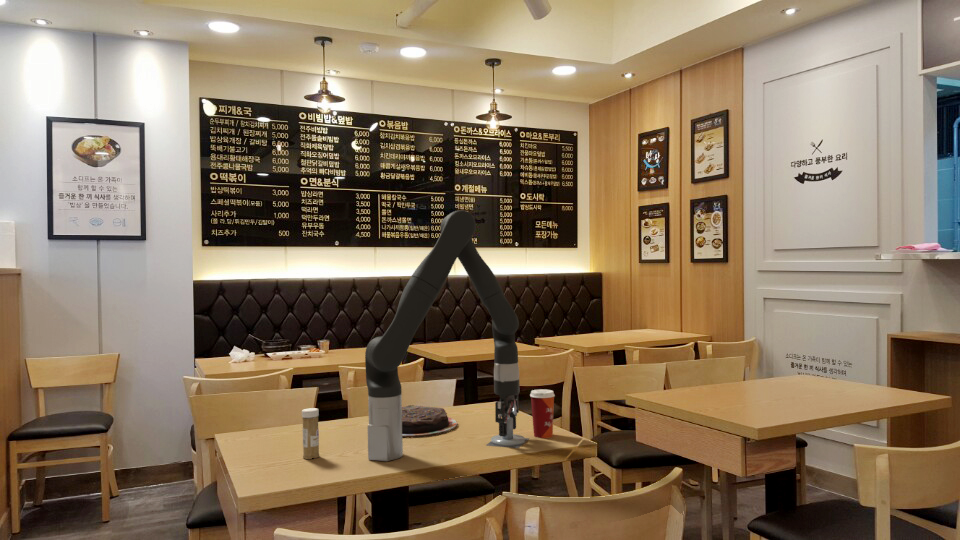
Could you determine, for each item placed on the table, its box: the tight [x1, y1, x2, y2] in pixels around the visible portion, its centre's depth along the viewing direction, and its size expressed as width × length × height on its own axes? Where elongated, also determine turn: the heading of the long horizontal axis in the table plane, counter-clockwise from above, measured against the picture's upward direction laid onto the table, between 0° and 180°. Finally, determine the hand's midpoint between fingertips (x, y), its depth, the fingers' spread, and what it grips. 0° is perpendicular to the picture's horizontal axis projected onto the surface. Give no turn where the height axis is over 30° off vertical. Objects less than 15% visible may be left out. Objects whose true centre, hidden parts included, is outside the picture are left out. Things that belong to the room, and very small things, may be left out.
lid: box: [490, 417, 526, 447], centre depth 188 cm, size 10×10×7 cm
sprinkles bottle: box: [301, 407, 320, 460], centre depth 178 cm, size 5×5×13 cm
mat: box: [485, 437, 530, 449], centre depth 188 cm, size 11×10×1 cm
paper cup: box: [529, 388, 556, 439], centre depth 195 cm, size 8×8×14 cm
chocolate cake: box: [402, 404, 458, 439], centre depth 211 cm, size 28×28×7 cm
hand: (507, 432), depth 188 cm, fingers open, 8 cm apart
